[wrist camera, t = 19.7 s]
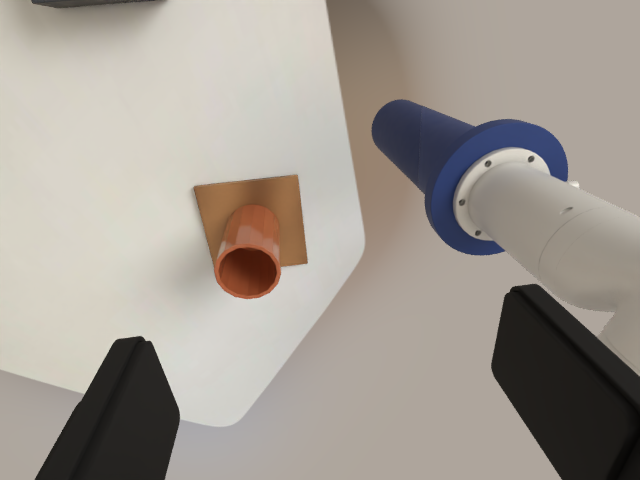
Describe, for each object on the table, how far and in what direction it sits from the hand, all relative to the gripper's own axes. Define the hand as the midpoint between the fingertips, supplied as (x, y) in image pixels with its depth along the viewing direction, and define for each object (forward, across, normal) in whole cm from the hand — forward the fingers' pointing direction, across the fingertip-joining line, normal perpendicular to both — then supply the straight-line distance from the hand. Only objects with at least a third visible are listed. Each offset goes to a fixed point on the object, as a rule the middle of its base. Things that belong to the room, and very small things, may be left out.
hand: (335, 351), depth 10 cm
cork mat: (+34, +6, +12) cm, 37 cm away
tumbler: (+34, +6, +12) cm, 36 cm away
